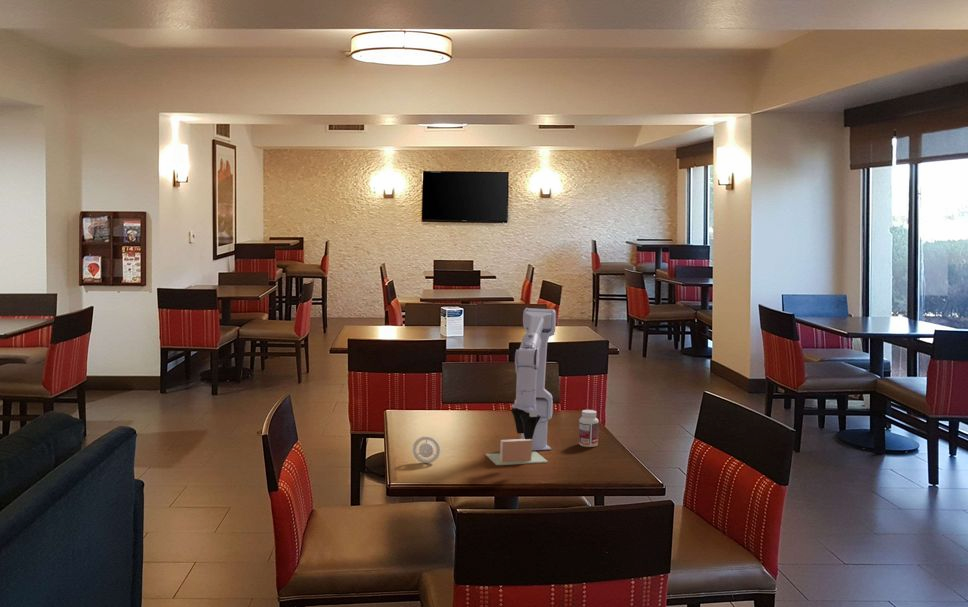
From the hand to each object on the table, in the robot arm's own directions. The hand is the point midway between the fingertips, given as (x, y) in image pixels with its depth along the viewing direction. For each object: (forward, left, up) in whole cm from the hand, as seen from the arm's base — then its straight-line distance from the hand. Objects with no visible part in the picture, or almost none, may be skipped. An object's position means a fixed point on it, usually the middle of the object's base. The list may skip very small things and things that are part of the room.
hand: (524, 436), depth 259 cm
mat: (-10, +1, -9) cm, 13 cm away
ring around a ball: (-9, -27, -10) cm, 30 cm away
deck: (-7, 0, -9) cm, 11 cm away
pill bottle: (-21, +29, -10) cm, 37 cm away
